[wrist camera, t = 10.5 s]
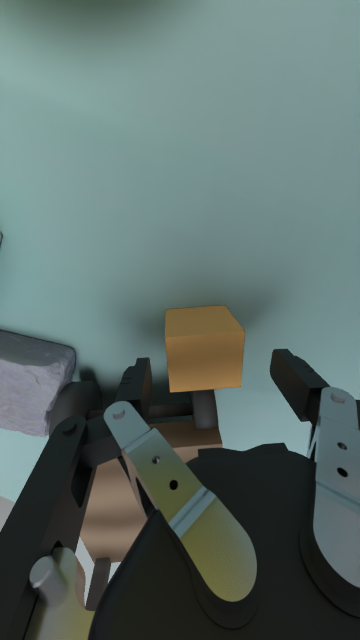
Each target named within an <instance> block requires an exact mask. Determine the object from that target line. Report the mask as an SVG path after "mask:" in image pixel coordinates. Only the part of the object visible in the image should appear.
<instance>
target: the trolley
mask: <svg viewBox="0 0 360 640" xmlns="http://www.w3.org/2000/svg"><path fill="white" fill-rule="evenodd" d="M105 411H106V409H105V410H103V406H102V396H101V391H100V388H99V386H98V384H97V383H96V382H95V381H79V382H71V383H68V384H67V385H66V386H65V387H64V388H63V389H62V390H61V392H60V393H59V395H58V397H57V399H56V401H55V404H54V407H53V410H52V414H51V419H50V426H49V438H50V436H51V434H52V432H53V430H54V429H55V427H56V426H57V425H58V424H59V423H60V422H61V421H62V420H64V419H66V418H68V417H70V416H74V415H80V416H82V417H84V418H85V420H86V421H87V420H90V419H93V418H96V417H99V416H101V415H103V414H104V413H105ZM188 415H192V420H191V421H179V422H167V423H155V424H147V425H148V426H149V428H150V429H151V428H153V427H154V428H156V429H157V430H158V431H159V433H160V434H161V435H162V436H163V437H164V439H165V440H166V441H167V442H168V443H169V445H170V446H171V447H172V448H173V450H174V451H175V452H176V453H177V454H178V456H179V457H180V458H181V459H182V461H183V462H184V463H186V462H188V461H189V460H191V459H193V458H195V457H198V449H204V448H218V447H219V448H222V440H221V436H220V432H219V427H218V415H217V407H216V400H215V394H214V389H208V390H196V391H190V403H179V404H167V405H155V406H150V407H149V415H148V419H151V418H164V417H176V416H188ZM145 523H146V519H145V517H144V515H143V513H142V511H141V509H140V507H139V505H138V503H137V500H136V498H135V495H134V493H133V490H132V488H131V486H130V484H129V482H128V481H127V479H126V477H125V475H124V473H123V471H122V469H121V467H120V465H119V463H118V461H117V460H116V458H115V459H113V460H110V461H108V462H105V463H103V464H100V465H98V466H97V470H96V474H95V478H94V481H93V485H92V489H91V493H90V497H89V501H88V505H87V509H86V513H85V516H84V520H83V524H82V528H81V532H80V537H81V539H82V541H83V543H84V545H85V547H86V549H87V551H88V552H89V554H90V556H91V558H92V560H93V562H94V564H95V566H94V570H93V575H92V579H91V585H90V588H89V593H88V598H87V602H86V606H85V609H86V610H88V611H95V610H96V608H97V605H98V603H99V600H100V598H101V596H102V594H103V592H104V590H105V588H106V586H107V584H108V578H109V573H110V567H111V563H113V562H122V560H123V558H124V557H125V555H126V554H127V552H128V550H129V549H130V547H131V545H132V544H133V542H134V541H135V539H136V537H137V536H138V534H139V532H140V531H141V529H142V528H143V526H144V524H145Z"/></svg>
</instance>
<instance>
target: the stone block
mask: <svg viewBox="0 0 360 640" xmlns="http://www.w3.org/2000/svg"><path fill="white" fill-rule="evenodd" d="M74 366H75V352H74V350H73V349H72V348H69V347H67V346H64V345H60V344H56V343H52V342H48V341H44V340H39V339H35V338H31V337H27V336H22V335H18V334H14V333H10V332H5V331H2V330H0V428H3V429H6V430H12V431H19V432H22V433H24V434H28V435H32V436H40V437H46V436H47V435H48V434H49V426H50V419H51V414H52V410H53V407H54V404H55V401H56V399H57V397H58V395H59V393H60V392H61V390H62V389H63V388H64V387H65V386H66V385H67V384H68V383H71V382H72V374H73V372H74Z"/></svg>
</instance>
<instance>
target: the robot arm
mask: <svg viewBox="0 0 360 640" xmlns="http://www.w3.org/2000/svg"><path fill="white" fill-rule="evenodd" d="M270 375H271V378H272V380H273V381H274V382H275V384H276V385H277V387H278V388H279V390H280V391H281V393H282V394H283V396H284V397H285V399H286V400H287V402H288V403H289V405H290V406H291V408H292V409H293V411H294V412H295V414H296V415H297V417H298V418H299V420H300V421H301V422H305V421H310V422H311V424H312V425H311V428H310V436H309V443H308V450H307V457H305V456H303V455H301V454H298V453H296V452H292V451H288V449H287V447H286V445H285V443H273V444H262V445H260V446H257V447H254V448H252V449H249V450H246V451H236V450H231V449H225V448H219V447H218V448H204V449H198V457H195V458H193V459H191V460H189V461H188V462H186V463H184V462H183V461H182V459H181V458H180V457H179V456H178V454H177V453H176V452H175V451H174V450H173V448H172V447H171V446H170V445H169V443H168V442H167V441H166V440H165V439H164V437H163V436H162V435H161V434H160V433H159V431H158V430H157V429H156V428H154V427H153V428H151V429H150V428H149V426H148V425H147V423H148V415H149V407H150V399H151V391H152V373H151V366H150V359H149V357H147V358H137V361H136V364H135V366H131V367H128V368H127V370H126V371H125V372H124V374H123V377H122V380H121V383H120V386H119V389H118V392H117V395H116V398H115V401H114V404H112V405H110V406H109V407H108V408H107V409H106V411H105V413H104V414H103V415H101V416H99V417H96V418H93V419H90V420H87V421H86V420H85V418H84V417H82V416H80V415H74V416H70V417H68V418H66V419H64V420H62V421H61V422H60V423H59V424H58V425H57V426H56V427H55V429H54V430H53V432H52V434H51V436H50V438H49V440H48V442H47V444H46V446H45V448H44V449H43V451H42V453H41V455H40V457H39V459H38V461H37V463H36V465H35V467H34V469H33V471H32V472H31V474H30V476H29V478H28V480H27V482H26V484H25V486H24V488H23V490H22V492H21V494H20V495H19V497H18V499H17V501H16V503H15V505H14V507H13V509H12V511H11V513H10V515H9V517H8V519H7V520H6V522H5V524H4V526H3V528H2V530H1V532H0V640H360V400H355V399H354V397H353V396H352V395H350V394H349V393H348V392H346V391H344V390H342V389H339V388H335V387H331V386H330V385H329V384H328V383H327V382H326V381H325V380H324V379H323V378H322V377H321V376H319V375H318V374H317V373H316V372H315V371H314V370H313V369H312V368H311V367H310V366H309V365H308V364H307V363H306V362H305V361H304V360H303V359H301V358H299V357H297V356H294V355H293V354H292V353H291V352H290V351H289V350H288V349H274V350H273V352H272V359H271V365H270ZM115 458H116V460H117V461H118V463H119V465H120V467H121V469H122V471H123V473H124V475H125V477H126V479H127V481H128V482H129V484H130V486H131V488H132V490H133V493H134V495H135V498H136V500H137V503H138V505H139V507H140V509H141V511H142V513H143V515H144V517H145V519H146V523H145V524H144V526H143V528H142V529H141V531H140V532H139V534H138V536H137V537H136V539H135V541H134V542H133V544H132V545H131V547H130V549H129V550H128V552H127V554H126V555H125V557H124V558H123V560H122V562H121V564H120V565H119V567H118V568H117V570H116V571H115V573H114V575H113V576H112V578H111V580H110V581H109V583H108V585H107V586H106V588H105V590H104V592H103V594H102V596H101V598H100V600H99V603H98V605H97V608H96V610H95V611H88V610H86V609H85V604H84V592H85V572H84V569H83V568H82V566H81V564H80V562H79V561H78V559H77V557H76V556H75V551H76V548H77V543H78V539H79V536H80V532H81V528H82V524H83V520H84V516H85V513H86V509H87V505H88V501H89V497H90V493H91V489H92V485H93V481H94V478H95V474H96V470H97V466H98V465H100V464H103V463H105V462H108V461H110V460H113V459H115Z"/></svg>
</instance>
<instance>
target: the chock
mask: <svg viewBox="0 0 360 640" xmlns="http://www.w3.org/2000/svg"><path fill="white" fill-rule="evenodd" d="M244 340H245V331H244V329H243V328H242V327H241V325H240V324H239V323H238V321H237V320H236V319H235V317H234V316H233V315H232V314H231V312H230V311H229V310H228V308H227V307H226V306H225V305H218V306H204V307H190V308H176V309H166V318H165V344H166V354H167V364H168V375H169V385H170V393H171V392H183V391H196V390H208V389H220V388H232V387H241V377H242V365H243V353H244Z"/></svg>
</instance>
